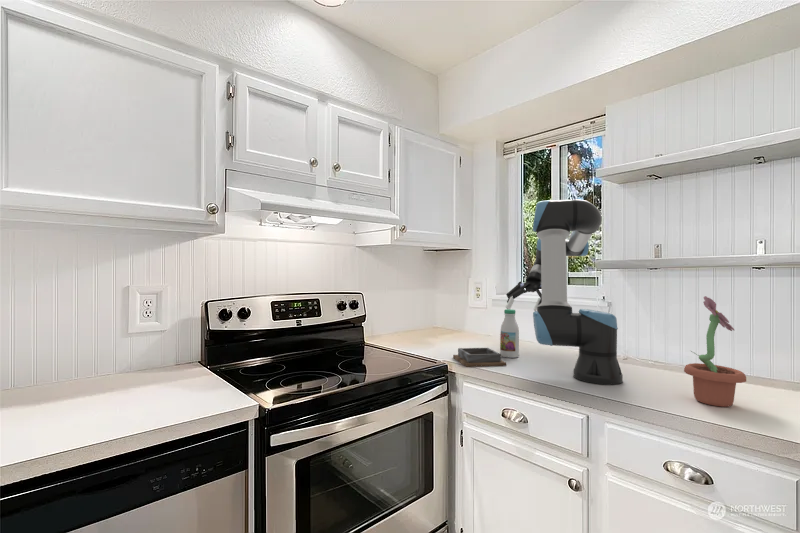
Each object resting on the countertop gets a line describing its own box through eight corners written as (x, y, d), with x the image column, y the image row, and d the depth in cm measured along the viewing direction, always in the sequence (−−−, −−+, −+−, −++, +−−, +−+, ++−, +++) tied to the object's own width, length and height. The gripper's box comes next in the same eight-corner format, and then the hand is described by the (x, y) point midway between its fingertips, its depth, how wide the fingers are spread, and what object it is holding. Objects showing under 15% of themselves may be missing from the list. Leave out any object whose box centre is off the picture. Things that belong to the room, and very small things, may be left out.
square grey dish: (506, 365, 155) (506, 354, 155) (466, 366, 153) (466, 355, 153) (489, 356, 171) (489, 346, 171) (453, 357, 168) (453, 347, 168)
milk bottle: (507, 353, 178) (507, 308, 178) (522, 356, 172) (522, 309, 172) (496, 355, 173) (496, 309, 173) (511, 359, 167) (512, 310, 168)
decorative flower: (753, 416, 103) (754, 299, 104) (687, 406, 110) (688, 296, 110) (739, 400, 116) (739, 296, 117) (681, 392, 123) (681, 294, 123)
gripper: (565, 282, 184) (550, 318, 173) (515, 281, 202) (499, 313, 191) (560, 271, 180) (545, 306, 170) (510, 270, 198) (493, 302, 187)
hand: (521, 310), depth 180 cm, fingers open, 13 cm apart
